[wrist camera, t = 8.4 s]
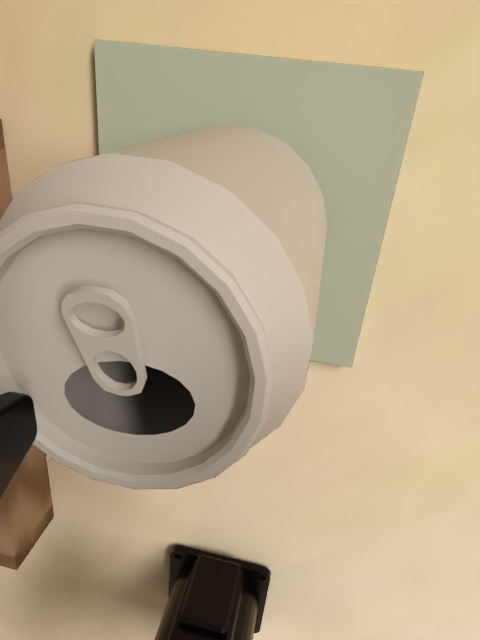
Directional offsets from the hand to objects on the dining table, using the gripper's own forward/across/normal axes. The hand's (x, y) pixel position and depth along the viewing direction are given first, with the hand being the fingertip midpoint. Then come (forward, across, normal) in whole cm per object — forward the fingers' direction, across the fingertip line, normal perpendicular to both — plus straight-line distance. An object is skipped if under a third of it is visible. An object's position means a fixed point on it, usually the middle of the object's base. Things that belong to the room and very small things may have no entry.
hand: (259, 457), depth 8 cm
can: (+12, +3, -1) cm, 13 cm away
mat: (+13, +3, -1) cm, 13 cm away
